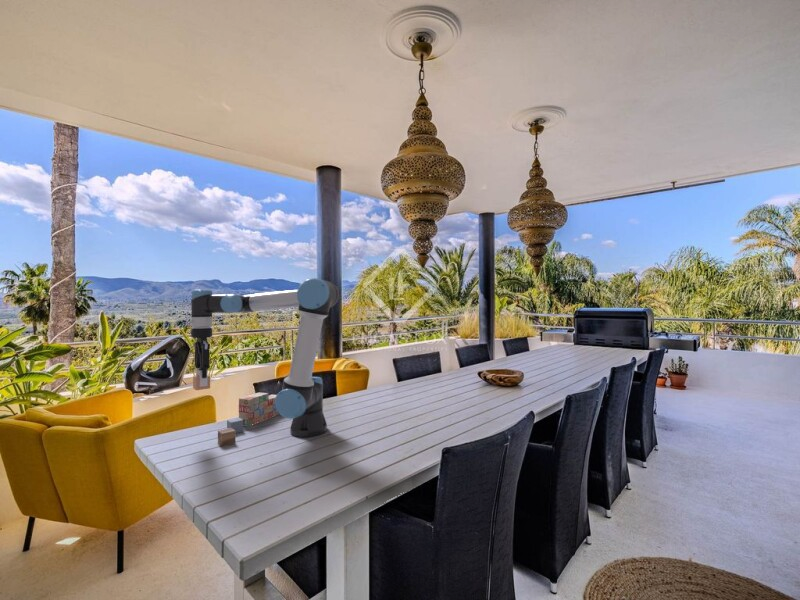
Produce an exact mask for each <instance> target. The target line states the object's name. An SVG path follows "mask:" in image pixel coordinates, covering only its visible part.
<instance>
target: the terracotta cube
mask: <svg viewBox="0 0 800 600" xmlns="http://www.w3.org/2000/svg"><path fill="white" fill-rule="evenodd" d="M192 386H193V387H192V388H193V390H195V391H201V390H208V389H211V375H209V374H208V386H202V387H200V375H197V376H196V375H193V376H192Z"/></svg>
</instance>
